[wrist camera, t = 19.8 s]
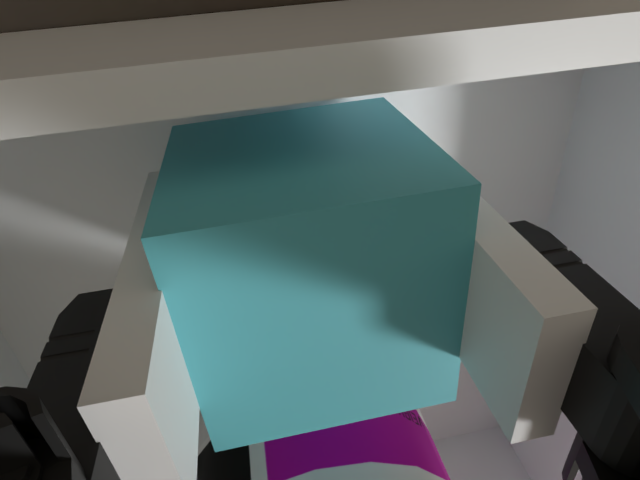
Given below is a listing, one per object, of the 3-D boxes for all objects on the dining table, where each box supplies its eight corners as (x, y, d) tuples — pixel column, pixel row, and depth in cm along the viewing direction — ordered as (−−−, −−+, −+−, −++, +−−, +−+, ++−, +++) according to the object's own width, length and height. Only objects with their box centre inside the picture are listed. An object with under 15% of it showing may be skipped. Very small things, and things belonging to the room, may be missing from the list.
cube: (172, 125, 11) (141, 238, 6) (383, 97, 11) (482, 183, 7) (217, 295, 13) (214, 452, 9) (384, 265, 14) (455, 400, 10)
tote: (101, 512, 21) (69, 671, 16) (-191, 51, 10) (-530, 137, 5) (505, 422, 23) (577, 538, 19) (617, -27, 12) (850, -12, 8)
